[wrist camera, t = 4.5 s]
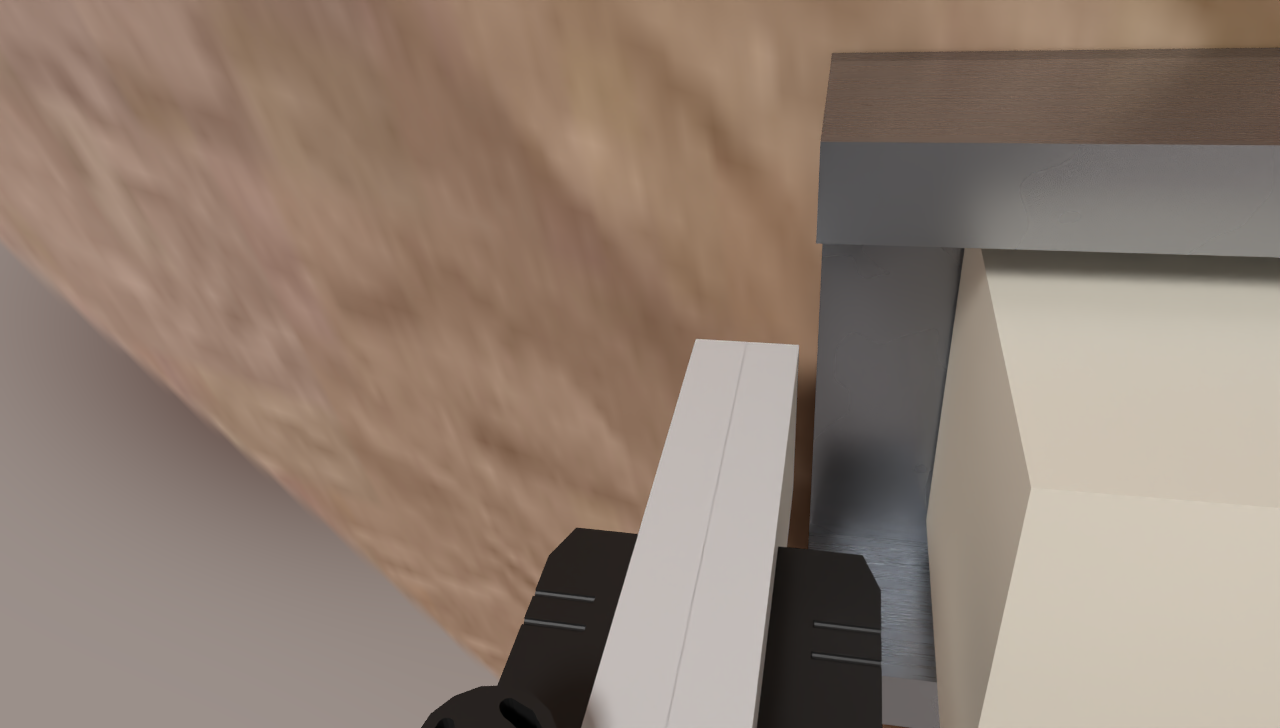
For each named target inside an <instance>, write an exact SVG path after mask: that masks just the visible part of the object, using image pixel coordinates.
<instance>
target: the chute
mask: <svg viewBox="0 0 1280 728" xmlns="http://www.w3.org/2000/svg"><path fill="white" fill-rule="evenodd" d="M816 243H821V244H823V248H822V269H821V291H820V312H819V334H818V355H817V377H816V398H815V420H814V441H813V463H812V484H811V506H810V528H809V542H808V549H809V550H818V551H828V552H837V553H847V554H856V555H863V557H864V559H865V560H866V562H867V564H868V566H869V568H870V570H871V572H872V574H873V576H874V578H875V580H876V581H877V583H878V585H879V587H880V589H881V640H882V662H881V668H882V724H887V725H894V726H902V727H909V728H940V720H939V705H938V690H937V675H936V660H935V645H934V630H933V615H932V600H931V586H930V571H929V556H928V541H927V526H926V518H927V511H928V504H929V497H930V489H931V482H932V475H933V468H934V461H935V454H936V447H937V440H938V433H939V426H940V419H941V412H942V405H943V398H944V390H945V383H946V376H947V369H948V362H949V355H950V348H951V341H952V334H953V327H954V320H955V313H956V306H957V299H958V291H959V284H960V277H961V270H962V263H963V256H964V249H965V248H984V249H1017V250H1050V251H1082V252H1115V253H1148V254H1180V255H1213V256H1246V257H1278V258H1280V48H1225V49H1142V50H1059V51H976V52H893V53H832V59H831V66H830V74H829V82H828V89H827V97H826V105H825V112H824V120H823V128H822V135H821V145H820V169H819V192H818V216H817V240H816Z"/></svg>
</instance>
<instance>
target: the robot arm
mask: <svg viewBox="0 0 1280 728" xmlns="http://www.w3.org/2000/svg"><path fill="white" fill-rule="evenodd" d="M798 360H799V345H790V344H773V343H756V342H739V341H722V340H705V339H696V340H695V344H694V347H693V351H692V354H691V357H690V361H689V364H688V368H687V371H686V374H685V378H684V381H683V385H682V388H681V391H680V395H679V398H678V401H677V405H676V408H675V412H674V415H673V418H672V422H671V425H670V429H669V432H668V435H667V439H666V442H665V445H664V449H663V452H662V456H661V459H660V462H659V466H658V469H657V473H656V476H655V479H654V483H653V486H652V489H651V493H650V496H649V500H648V503H647V506H646V510H645V513H644V517H643V520H642V523H641V527H640V530H639V533H638V534H632V533H623V532H613V531H604V530H594V529H584V528H576V529H575V530H574V531H573V532H572V533H571V534H570V535H569V536H568V537H567V538H566V539H565V540H564V541H563V542H562V543H561V544H560V545H559V546H558V547H557V548H556V549H555V550H554V551H553V552H552V553H551V554H550V555H549V557H548V559H547V562H546V564H545V567H544V569H543V572H542V574H541V577H540V580H539V582H538V585H537V587H536V593H535V596H533V597H532V600H531V602H530V605H529V607H528V610H527V612H526V615H525V620H524V624H522V625H521V627H520V630H519V632H518V635H517V637H516V640H515V643H514V645H513V648H512V650H511V653H510V655H509V658H508V660H507V663H506V665H505V668H504V670H503V673H502V675H501V678H500V680H499V683H498V685H497V686H481V687H478V688H475V689H472V690H470V691H467V692H464V693H461V694H459V695H456V696H454V697H452V698H451V699H450V700H448V701H447V702H446V703H444V704H443V705H442V706H440V707H439V708H438V709H436V710H435V711H434V712H433V713H431V714H430V716H429V717H428V719H427V720H426V721H425V723H424V724H423V726H422V727H421V728H882V668H881V662H882V640H881V589H880V587H879V585H878V583H877V581H876V580H875V578H874V576H873V574H872V572H871V570H870V568H869V566H868V564H867V562H866V560H865V559H864V557H863V555H856V554H847V553H837V552H828V551H818V550H809V549H799V548H789V547H787V542H788V533H789V523H790V514H791V505H792V495H793V482H794V457H795V433H796V409H797V384H798Z"/></svg>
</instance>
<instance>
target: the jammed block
mask: <svg viewBox="0 0 1280 728" xmlns="http://www.w3.org/2000/svg"><path fill="white" fill-rule="evenodd" d="M926 526H927V541H928V556H929V571H930V586H931V600H932V615H933V630H934V645H935V660H936V675H937V690H938V705H939V720H940V728H1280V258H1278V257H1246V256H1213V255H1180V254H1148V253H1115V252H1082V251H1050V250H1017V249H984V248H965V249H964V256H963V263H962V270H961V277H960V284H959V291H958V299H957V306H956V313H955V320H954V327H953V334H952V341H951V348H950V355H949V362H948V369H947V376H946V383H945V390H944V398H943V405H942V412H941V419H940V426H939V433H938V440H937V447H936V454H935V461H934V468H933V475H932V482H931V489H930V497H929V504H928V511H927V518H926Z"/></svg>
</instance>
